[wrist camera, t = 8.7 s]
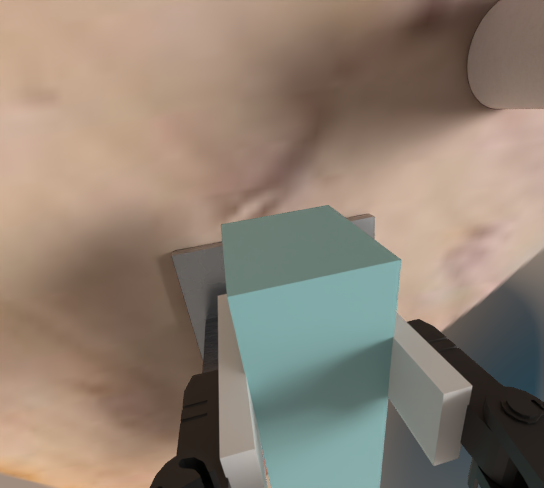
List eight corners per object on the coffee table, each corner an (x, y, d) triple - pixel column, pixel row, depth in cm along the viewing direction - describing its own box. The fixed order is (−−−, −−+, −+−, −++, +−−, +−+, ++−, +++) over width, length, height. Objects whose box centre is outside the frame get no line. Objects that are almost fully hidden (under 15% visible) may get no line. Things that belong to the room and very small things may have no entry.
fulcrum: (216, 399, 24) (217, 478, 18) (173, 251, 19) (155, 299, 13) (369, 359, 26) (411, 420, 20) (368, 213, 20) (426, 242, 15)
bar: (276, 485, 20) (295, 593, 15) (220, 224, 11) (227, 296, 7) (336, 467, 20) (372, 566, 16) (328, 204, 12) (401, 259, 7)
